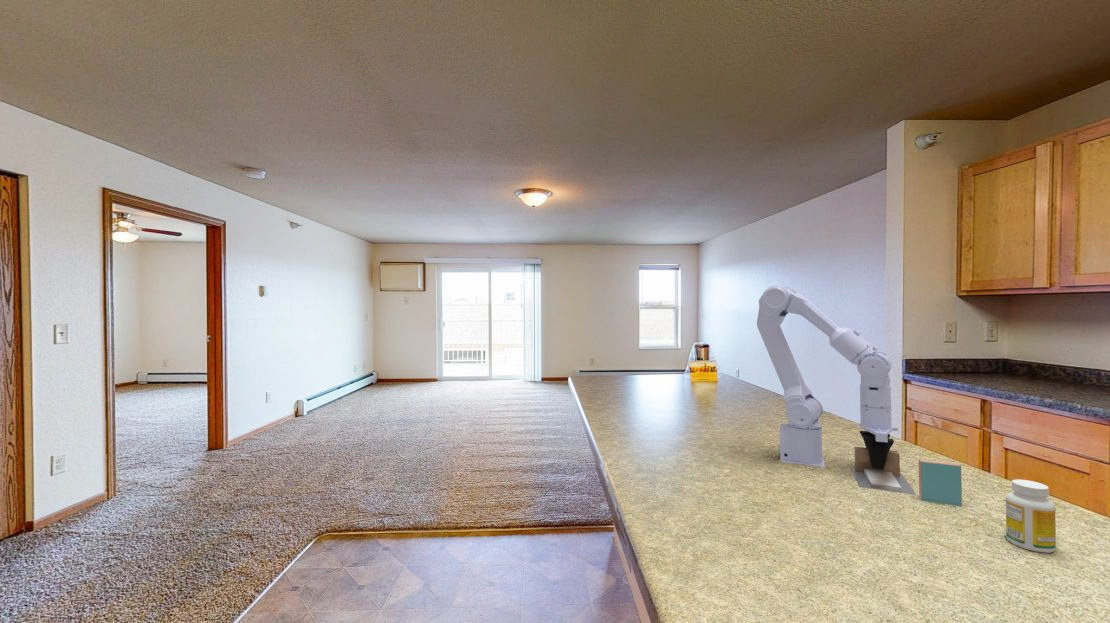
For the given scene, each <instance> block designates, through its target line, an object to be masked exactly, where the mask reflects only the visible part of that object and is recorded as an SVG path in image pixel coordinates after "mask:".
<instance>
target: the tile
mask: <svg viewBox="0 0 1110 623" xmlns="http://www.w3.org/2000/svg"><path fill="white" fill-rule="evenodd" d="M962 483H963V481H962V465H961V464H960V463H959V462H948V461H941V460H940V461H939V460H932V459H920V458H918V486H919V487H918V490H919V491H918V494H919V499H920V500H921V501H925V502H933V503H938V504H939V503H940V504H946V505H952V506H961V507H962V506H963V491H962V489H963V486H962Z"/></svg>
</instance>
